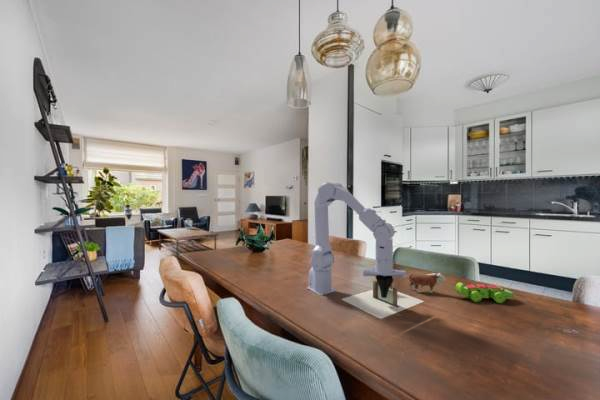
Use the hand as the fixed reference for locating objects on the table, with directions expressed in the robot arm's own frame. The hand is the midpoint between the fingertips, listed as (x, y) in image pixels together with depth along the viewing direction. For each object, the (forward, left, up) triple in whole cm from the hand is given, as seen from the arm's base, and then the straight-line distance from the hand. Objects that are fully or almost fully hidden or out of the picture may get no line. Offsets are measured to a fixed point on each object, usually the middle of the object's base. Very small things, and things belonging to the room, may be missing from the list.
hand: (383, 296), depth 89 cm
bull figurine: (+1, +25, -3) cm, 25 cm away
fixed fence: (-6, +7, -3) cm, 9 cm away
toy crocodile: (+17, +36, -4) cm, 40 cm away
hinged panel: (-1, +3, -2) cm, 4 cm away
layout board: (-3, +3, -3) cm, 5 cm away
